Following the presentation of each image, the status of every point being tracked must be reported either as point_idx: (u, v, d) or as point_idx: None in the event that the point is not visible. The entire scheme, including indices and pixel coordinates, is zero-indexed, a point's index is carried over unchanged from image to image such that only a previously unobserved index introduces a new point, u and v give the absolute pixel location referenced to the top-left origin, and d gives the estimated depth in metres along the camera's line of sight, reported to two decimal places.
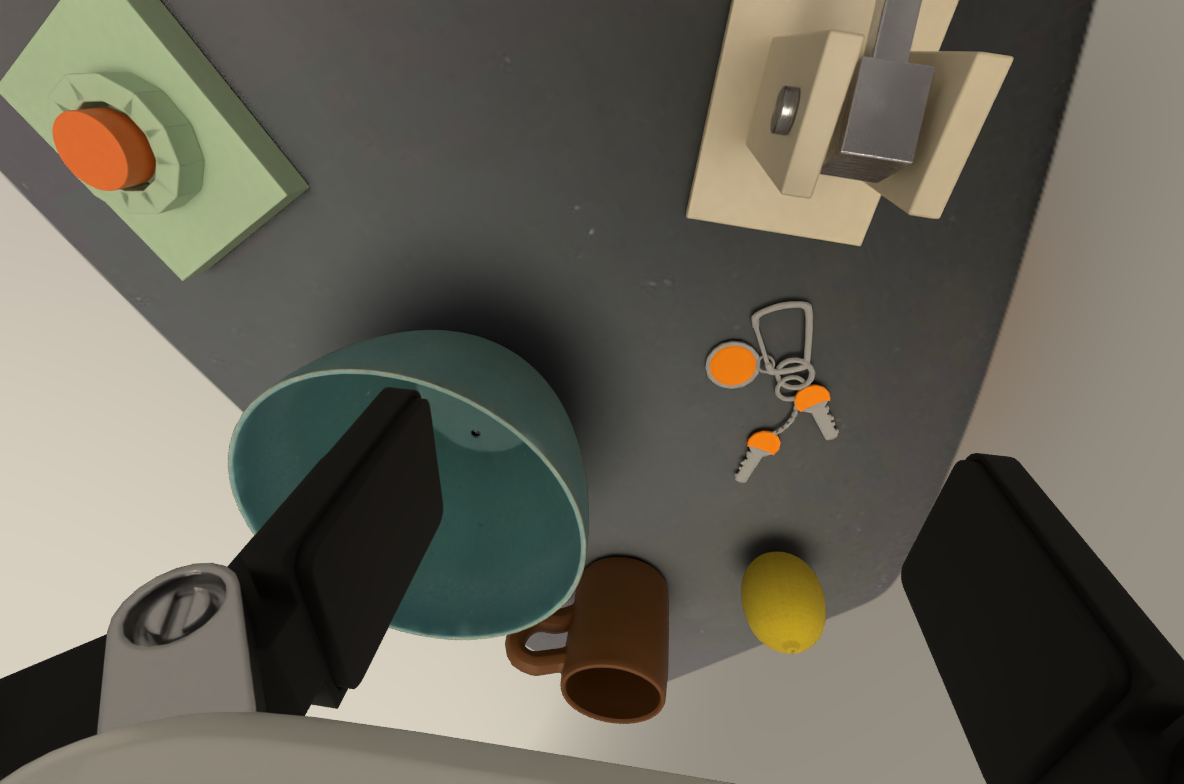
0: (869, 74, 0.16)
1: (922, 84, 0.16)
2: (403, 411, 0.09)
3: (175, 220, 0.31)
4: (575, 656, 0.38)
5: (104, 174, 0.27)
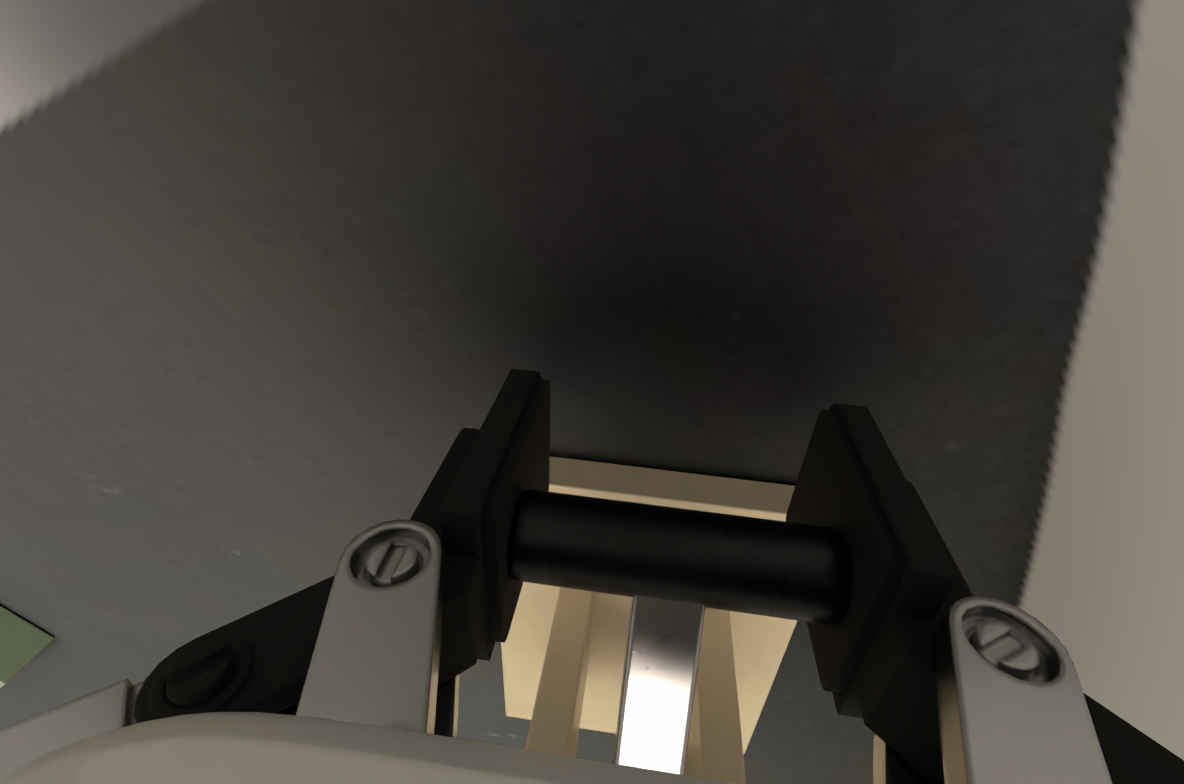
0: None
1: None
2: (534, 390, 0.10)
3: None
4: None
5: None
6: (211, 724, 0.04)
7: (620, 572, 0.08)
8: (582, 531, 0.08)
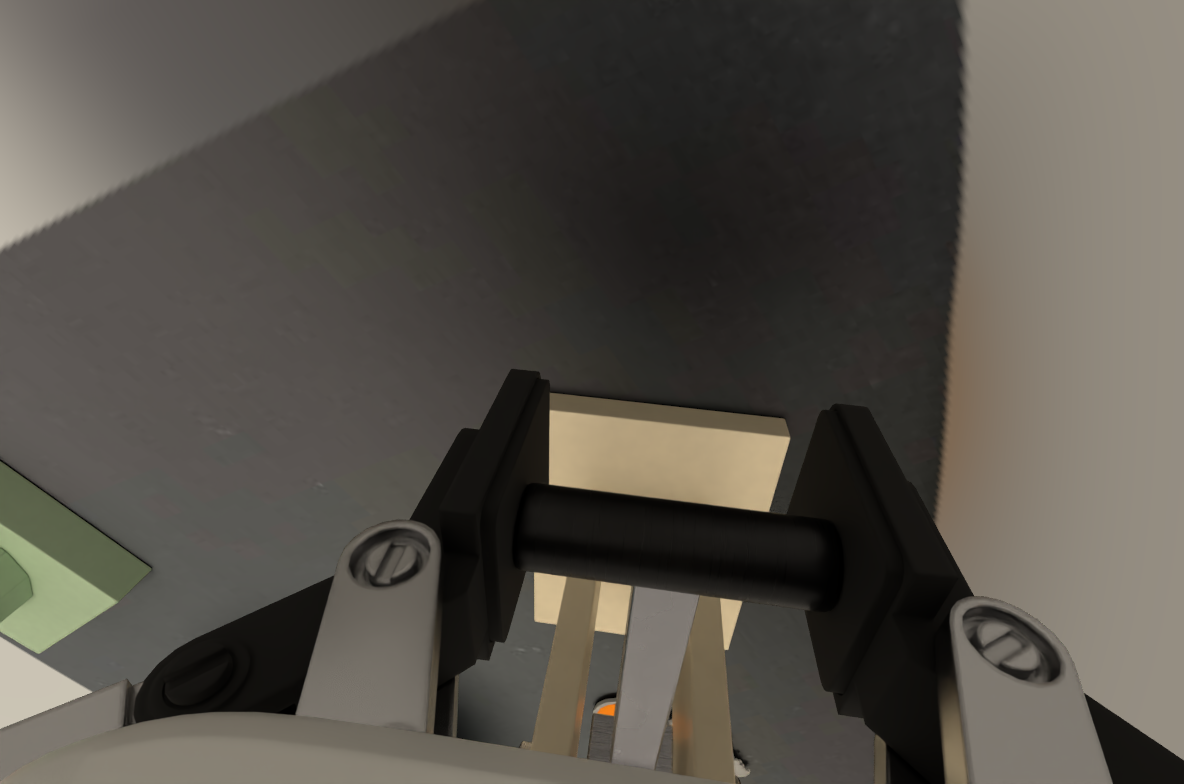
0: None
1: None
2: (533, 390, 0.10)
3: (16, 614, 0.30)
4: None
5: None
6: (211, 724, 0.04)
7: (620, 577, 0.09)
8: (582, 544, 0.08)
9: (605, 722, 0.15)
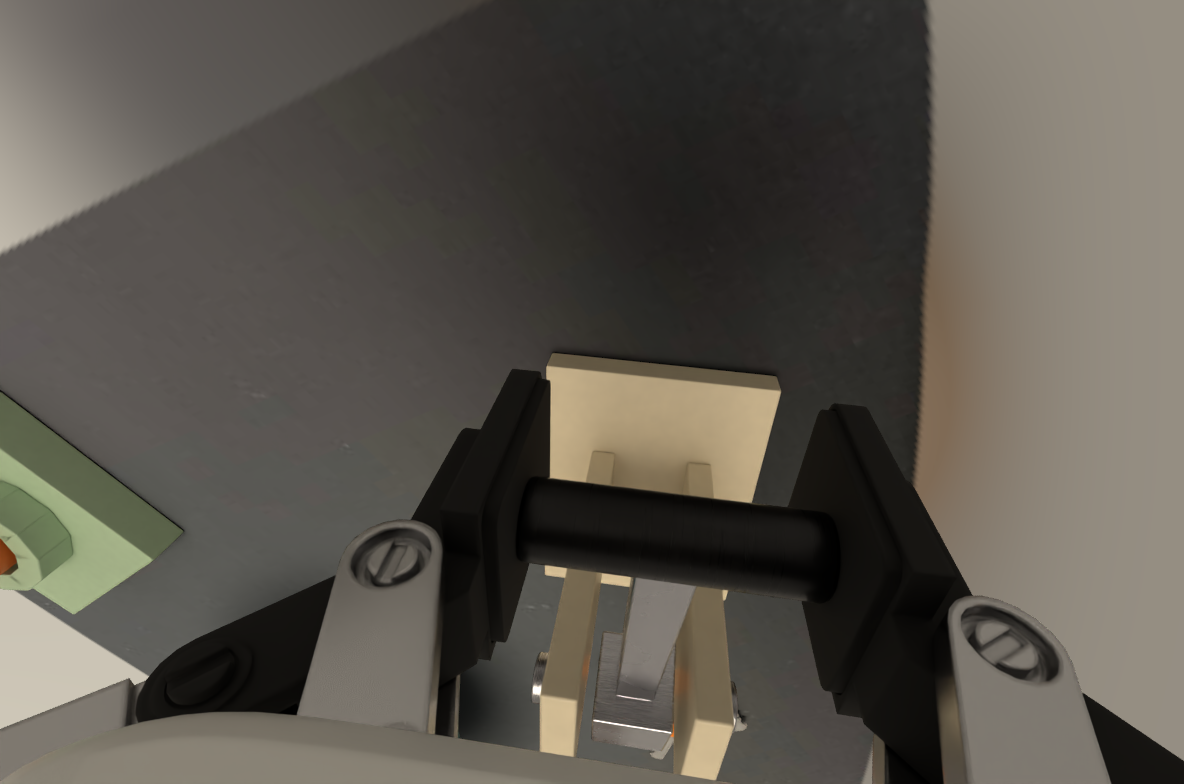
0: (603, 726, 0.15)
1: (659, 737, 0.15)
2: (534, 390, 0.10)
3: (55, 573, 0.31)
4: None
5: None
6: (211, 724, 0.04)
7: (620, 573, 0.09)
8: (582, 546, 0.09)
9: (614, 640, 0.16)
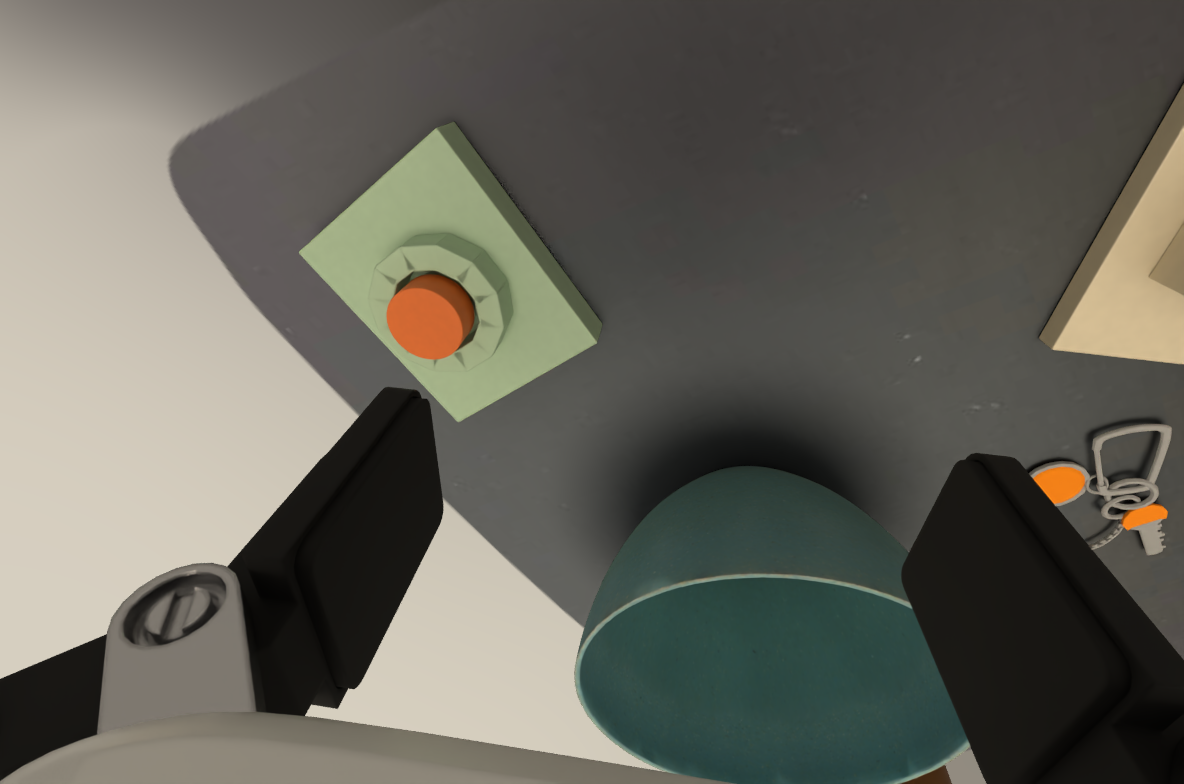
0: None
1: None
2: (403, 411, 0.09)
3: None
4: None
5: (434, 344, 0.25)
6: (212, 724, 0.04)
7: None
8: None
9: None
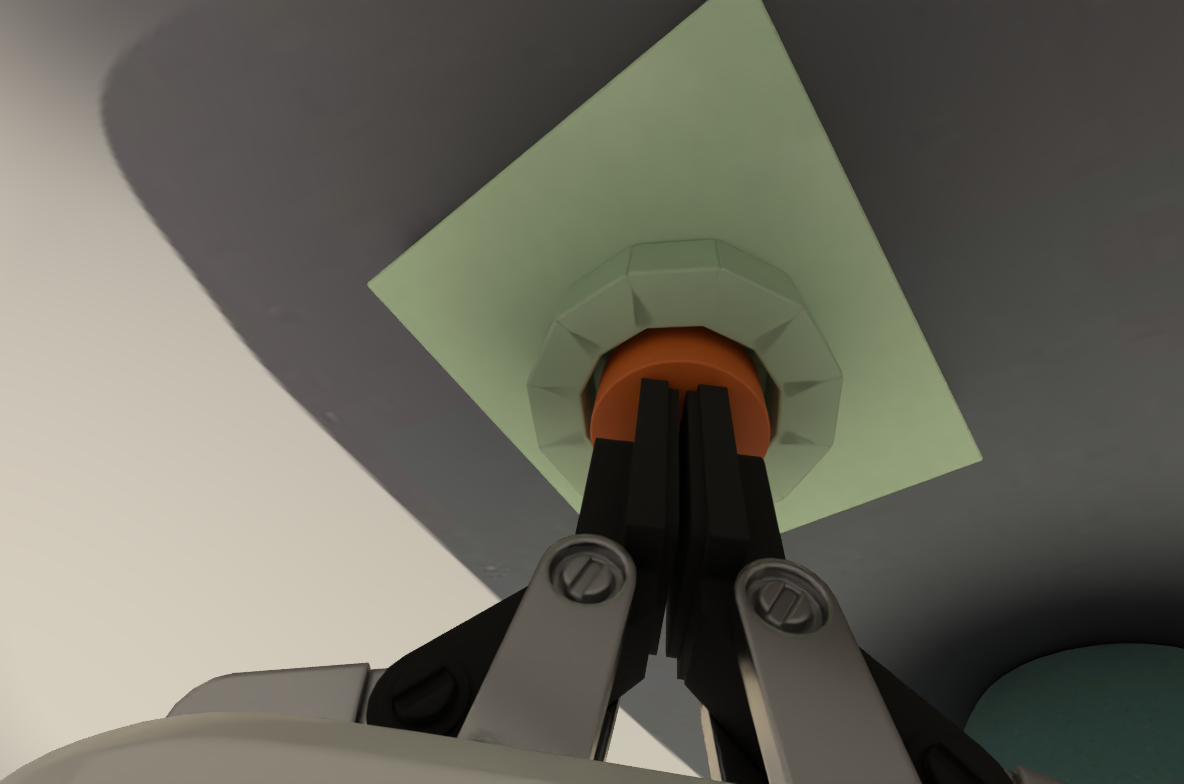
0: None
1: None
2: (670, 400, 0.10)
3: None
4: None
5: None
6: (211, 724, 0.04)
7: None
8: None
9: None
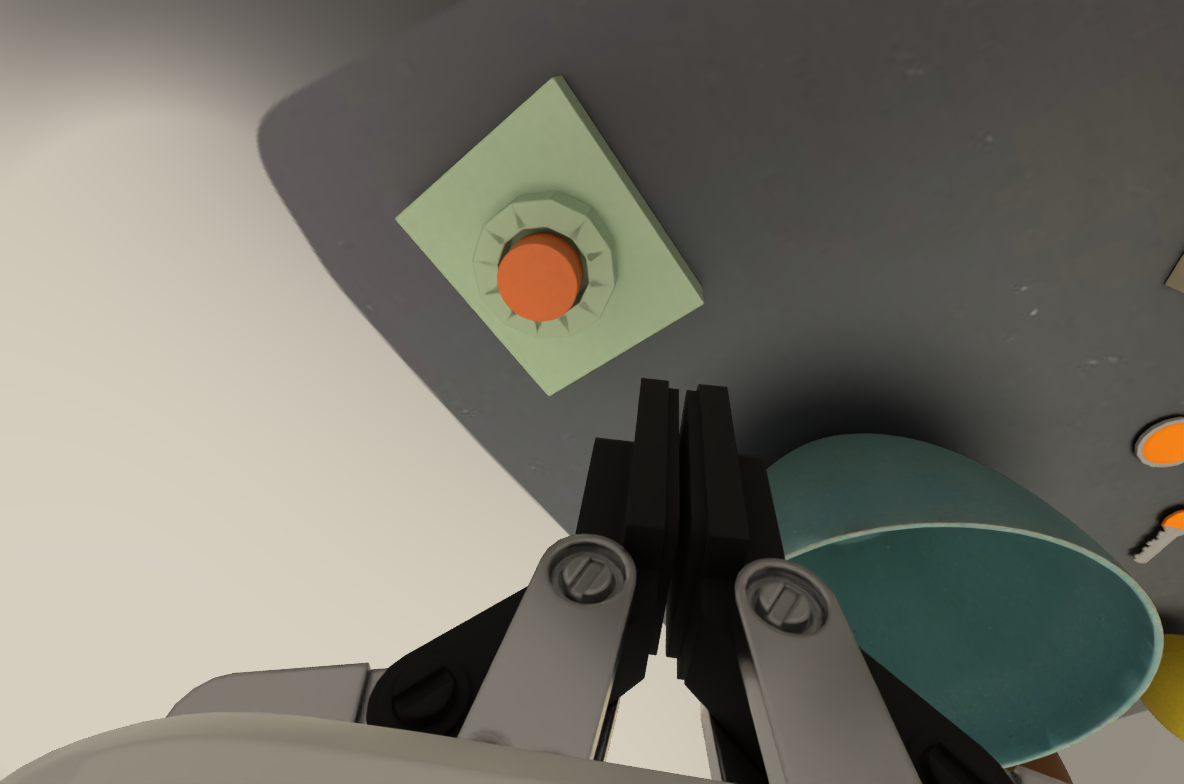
0: None
1: None
2: (670, 400, 0.10)
3: (561, 336, 0.29)
4: None
5: (545, 305, 0.24)
6: (211, 724, 0.04)
7: None
8: None
9: None
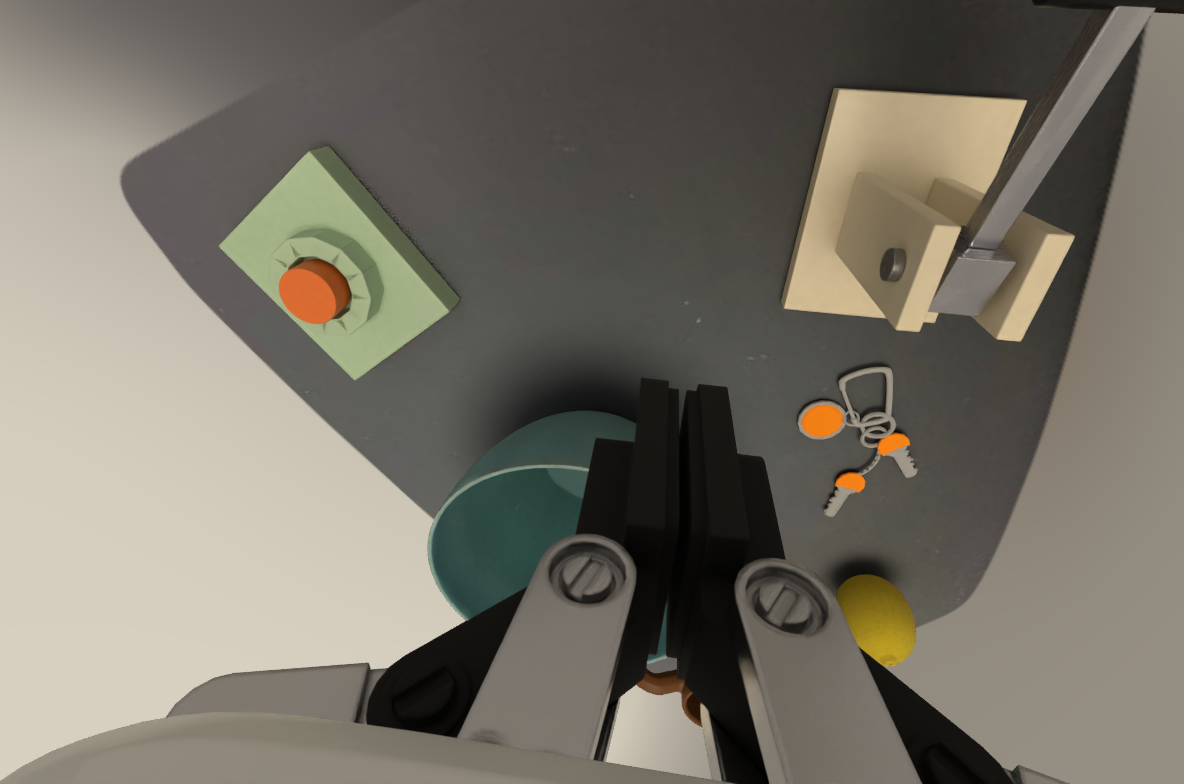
0: (960, 268, 0.22)
1: (1001, 274, 0.22)
2: (670, 400, 0.10)
3: (354, 334, 0.38)
4: None
5: (316, 312, 0.34)
6: (211, 724, 0.04)
7: None
8: None
9: None
